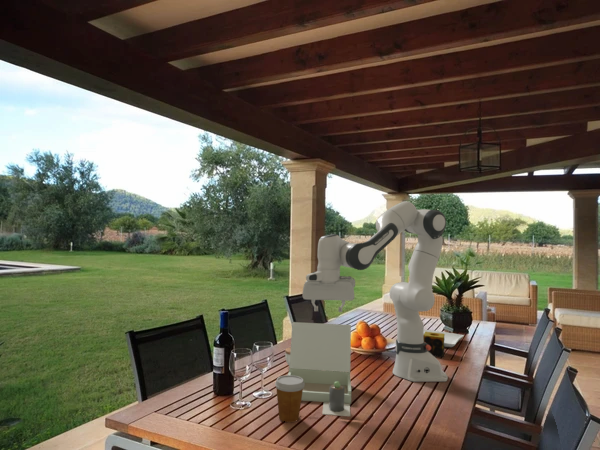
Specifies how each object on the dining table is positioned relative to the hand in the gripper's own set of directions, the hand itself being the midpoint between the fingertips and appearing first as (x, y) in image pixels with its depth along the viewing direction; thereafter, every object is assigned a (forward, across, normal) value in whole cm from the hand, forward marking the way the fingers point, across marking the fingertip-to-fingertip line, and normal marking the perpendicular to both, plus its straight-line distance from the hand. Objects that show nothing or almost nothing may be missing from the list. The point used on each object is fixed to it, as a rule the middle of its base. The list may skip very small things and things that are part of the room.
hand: (328, 311), depth 155 cm
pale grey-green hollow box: (+29, +3, +3) cm, 29 cm away
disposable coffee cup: (+29, +12, +29) cm, 42 cm away
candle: (+31, -53, -56) cm, 83 cm away
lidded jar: (+29, +14, -21) cm, 39 cm away
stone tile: (+29, -3, +21) cm, 36 cm away
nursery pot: (+28, -3, +21) cm, 36 cm away
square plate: (+31, -61, -82) cm, 107 cm away
